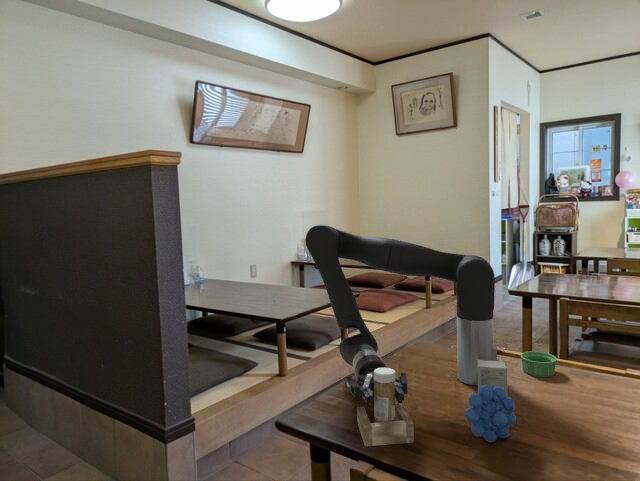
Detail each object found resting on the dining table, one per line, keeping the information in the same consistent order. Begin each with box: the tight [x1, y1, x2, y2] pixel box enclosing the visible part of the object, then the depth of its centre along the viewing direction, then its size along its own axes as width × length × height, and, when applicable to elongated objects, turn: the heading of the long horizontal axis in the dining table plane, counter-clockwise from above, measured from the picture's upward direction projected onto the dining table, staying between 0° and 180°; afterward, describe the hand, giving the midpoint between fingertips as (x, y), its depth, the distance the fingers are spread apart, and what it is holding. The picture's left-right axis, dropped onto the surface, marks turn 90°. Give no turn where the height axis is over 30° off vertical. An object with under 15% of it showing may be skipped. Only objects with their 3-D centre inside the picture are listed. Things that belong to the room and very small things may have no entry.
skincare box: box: [477, 360, 509, 397], centre depth 99 cm, size 6×4×12 cm
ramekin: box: [520, 350, 558, 378], centre depth 123 cm, size 9×9×4 cm
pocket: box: [356, 403, 415, 447], centre depth 94 cm, size 10×9×4 cm
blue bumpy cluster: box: [465, 385, 517, 443], centre depth 88 cm, size 12×7×12 cm, turn 107°
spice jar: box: [373, 367, 397, 423], centre depth 94 cm, size 5×5×13 cm
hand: (386, 399), depth 91 cm, fingers open, 5 cm apart
